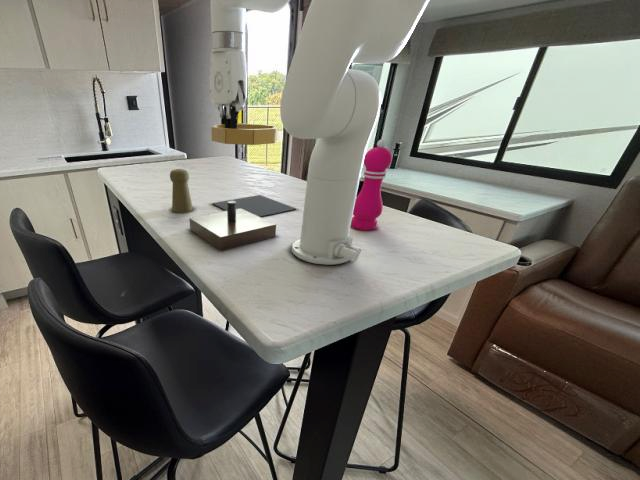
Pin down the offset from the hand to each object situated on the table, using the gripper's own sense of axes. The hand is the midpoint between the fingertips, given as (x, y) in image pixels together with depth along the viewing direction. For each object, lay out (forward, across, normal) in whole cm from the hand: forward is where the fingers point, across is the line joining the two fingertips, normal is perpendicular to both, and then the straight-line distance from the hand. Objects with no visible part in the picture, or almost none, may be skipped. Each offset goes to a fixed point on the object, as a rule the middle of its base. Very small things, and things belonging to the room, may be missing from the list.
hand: (229, 136), depth 81 cm
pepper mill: (+19, +30, +22) cm, 42 cm away
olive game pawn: (+20, -9, -11) cm, 24 cm away
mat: (+19, 0, +8) cm, 21 cm away
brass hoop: (-1, +7, 0) cm, 7 cm away
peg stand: (+19, +15, -9) cm, 26 cm away
